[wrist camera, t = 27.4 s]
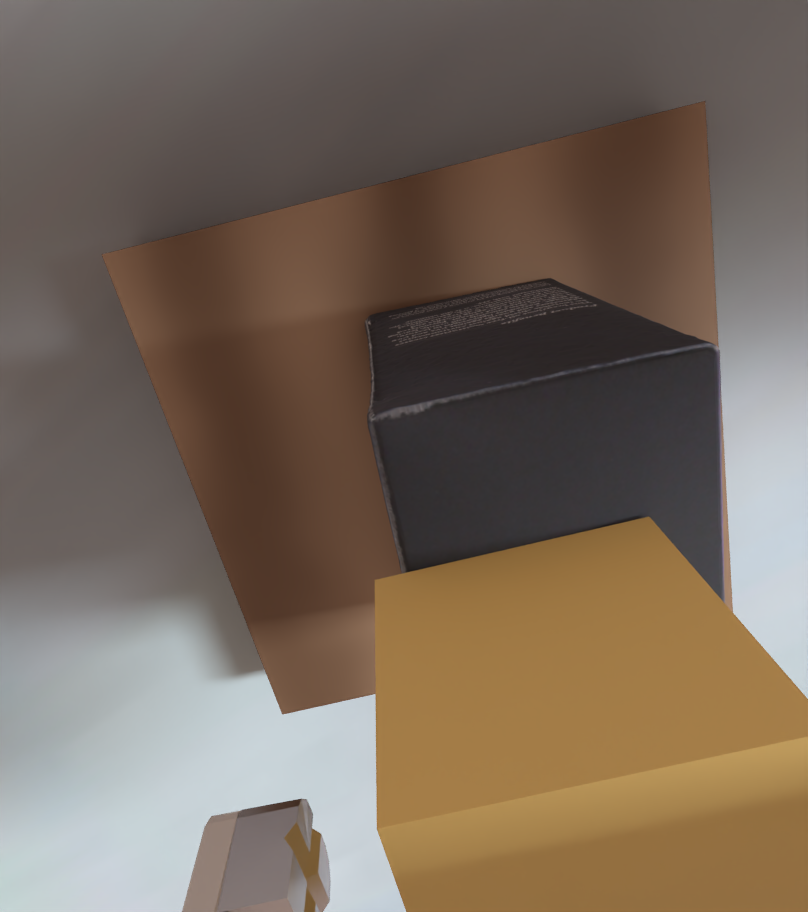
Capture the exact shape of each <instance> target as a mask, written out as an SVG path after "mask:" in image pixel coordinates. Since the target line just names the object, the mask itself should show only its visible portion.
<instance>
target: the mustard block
mask: <svg viewBox="0 0 808 912" xmlns="http://www.w3.org/2000/svg"><path fill="white" fill-rule="evenodd" d="M375 676H376V783H377V830H378V833H379V836H380V839H381V842H382V844H383V847H384V850H385V853H386V856H387V859H388V861H389V864H390V867H391V870H392V873H393V875H394V878H395V881H396V884H397V887H398V889H399V892H400V895H401V898H402V901H403V903H404V906H405V909H406V912H808V699H807V698H806V697H805V695H804V694H803V693H802V692H801V691H800V690H799V689H798V687H797V686H796V685H795V684H794V683H793V682H792V680H791V679H790V678H789V677H788V676H787V675H786V674H785V672H784V671H783V670H782V669H781V668H780V667H779V665H778V664H777V663H776V662H775V661H774V660H773V659H772V657H771V656H770V655H769V654H768V653H767V652H766V650H765V649H764V648H763V647H762V646H761V645H760V644H759V642H758V641H757V640H756V639H755V638H754V637H753V635H752V634H751V633H750V632H749V631H748V630H747V629H746V627H745V626H744V625H743V624H742V623H741V622H740V621H739V619H738V618H737V617H736V616H735V615H734V614H733V612H732V611H731V610H730V609H729V608H728V607H727V606H726V604H725V603H724V602H723V601H722V600H721V599H720V597H719V596H718V595H717V594H716V593H715V592H714V591H713V589H712V588H711V587H710V586H709V585H708V584H707V582H706V581H705V580H704V579H703V578H702V577H701V576H700V574H699V573H698V572H697V571H696V570H695V569H694V567H693V566H692V565H691V564H690V563H689V562H688V561H687V559H686V558H685V557H684V556H683V555H682V554H681V553H680V551H679V550H678V549H677V548H676V547H675V546H674V544H673V543H672V542H671V541H670V540H669V539H668V538H667V536H666V535H665V534H664V533H663V532H662V531H661V529H660V528H659V527H658V526H657V525H656V524H655V523H654V521H653V520H652V519H651V518H650V517H645V518H641V519H636V520H632V521H628V522H623V523H619V524H615V525H610V526H606V527H602V528H597V529H593V530H589V531H584V532H580V533H576V534H571V535H567V536H563V537H558V538H554V539H550V540H545V541H541V542H537V543H532V544H528V545H524V546H520V547H515V548H511V549H507V550H502V551H498V552H494V553H489V554H485V555H481V556H476V557H472V558H468V559H463V560H459V561H455V562H450V563H446V564H442V565H437V566H433V567H429V568H424V569H420V570H416V571H411V572H407V573H403V574H398V575H394V576H390V577H385V578H381V579H377V580H375Z"/></svg>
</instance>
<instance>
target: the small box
mask: <svg viewBox="0 0 808 912" xmlns="http://www.w3.org/2000/svg"><path fill="white" fill-rule="evenodd" d="M365 330H366V334H367V339H368V349H369V361H370V372H371V381H370V382H371V394H370V401H369V403H370V405H369V408H368V414H367V424H368V430H369V433H370V437H371V442H372V446H373V451H374V456H375V460H376V465H377V469H378V473H379V478H380V482H381V486H382V491H383V495H384V500H385V504H386V509H387V513H388V517H389V522H390V526H391V530H392V534H393V538H394V542H395V546H396V550H397V555H398V559H399V564H400V569H401V572H402V574H403V573H407V572H411V571H416V570H420V569H424V568H429V567H433V566H437V565H442V564H446V563H450V562H455V561H459V560H463V559H468V558H472V557H476V556H481V555H485V554H489V553H494V552H498V551H502V550H507V549H511V548H515V547H520V546H524V545H528V544H532V543H537V542H541V541H545V540H550V539H554V538H558V537H563V536H567V535H571V534H576V533H580V532H584V531H589V530H593V529H597V528H602V527H606V526H610V525H615V524H619V523H623V522H628V521H632V520H636V519H641V518H645V517H650V518H651V519H652V520H653V521H654V523H655V524H656V525H657V526H658V527H659V528H660V529H661V531H662V532H663V533H664V534H665V535H666V536H667V538H668V539H669V540H670V541H671V542H672V543H673V544H674V546H675V547H676V548H677V549H678V550H679V551H680V553H681V554H682V555H683V556H684V557H685V558H686V559H687V561H688V562H689V563H690V564H691V565H692V566H693V567H694V569H695V570H696V571H697V572H698V573H699V574H700V576H701V577H702V578H703V579H704V580H705V581H706V582H707V584H708V585H709V586H710V587H711V588H712V589H713V591H714V592H715V593H716V594H717V595H718V596H719V597H720V599H721V600H722V601H723V602H724V603H725V588H724V535H723V492H722V438H721V404H720V402H721V376H720V350H719V349H718V347H717V346H716V345H715V344H713V343H711V342H708V341H705V340H701V339H698V338H697V337H695V336H691V335H687V334H684V333H681V332H679V331H676V330H674V329H672V328H669V327H667V326H665V325H662V324H660V323H657V322H654V321H652V320H649V319H647V318H644V317H643V316H641V315H637V314H635V313H632V312H630V311H627V310H625V309H623V308H620V307H618V306H615V305H612V304H610V303H608V302H606V301H603V300H601V299H598V298H596V297H594V296H591V295H589V294H586V293H584V292H581V291H579V290H577V289H575V288H572V287H570V286H567V285H565V284H562V283H560V282H558V281H556V280H554V279H552V278H547V279H541V280H536V281H531V282H526V283H520V284H516V285H510V286H504V287H500V288H497V289H491V290H486V291H481V292H476V293H472V294H467V295H462V296H457V297H452V298H448V299H443V300H438V301H434V302H429V303H424V304H420V305H414V306H409V307H404V308H400V309H395V310H390V311H386V312H380V313H376V314H373V315H370V316H368V318H367V319H366V320H365Z"/></svg>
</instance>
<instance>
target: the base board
mask: <svg viewBox="0 0 808 912" xmlns="http://www.w3.org/2000/svg"><path fill="white" fill-rule="evenodd" d="M102 257H103V259H104V262H105V264H106V267H107V269H108V272H109V275H110V277H111V280H112V282H113V285H114V287H115V290H116V292H117V295H118V297H119V300H120V302H121V305H122V308H123V310H124V313H125V315H126V318H127V320H128V323H129V325H130V328H131V330H132V333H133V336H134V338H135V341H136V343H137V346H138V348H139V351H140V353H141V356H142V358H143V361H144V364H145V366H146V369H147V371H148V374H149V376H150V379H151V381H152V384H153V386H154V389H155V392H156V394H157V397H158V399H159V402H160V404H161V407H162V409H163V412H164V414H165V417H166V420H167V422H168V425H169V427H170V430H171V432H172V435H173V437H174V440H175V442H176V445H177V447H178V450H179V453H180V455H181V458H182V460H183V463H184V465H185V468H186V470H187V473H188V475H189V478H190V481H191V483H192V486H193V488H194V491H195V493H196V496H197V498H198V501H199V503H200V506H201V509H202V511H203V514H204V516H205V519H206V521H207V524H208V526H209V529H210V531H211V534H212V537H213V539H214V542H215V544H216V547H217V549H218V552H219V554H220V557H221V559H222V562H223V565H224V567H225V570H226V572H227V575H228V577H229V580H230V582H231V585H232V587H233V590H234V592H235V595H236V598H237V600H238V603H239V605H240V608H241V610H242V613H243V615H244V618H245V620H246V623H247V626H248V628H249V631H250V633H251V636H252V638H253V641H254V643H255V646H256V648H257V651H258V654H259V656H260V659H261V661H262V664H263V666H264V669H265V671H266V674H267V676H268V679H269V682H270V684H271V687H272V689H273V692H274V694H275V697H276V699H277V702H278V704H279V707H280V710H281V712H282V714H287V713H291V712H296V711H300V710H305V709H309V708H314V707H318V706H323V705H327V704H332V703H336V702H341V701H345V700H350V699H354V698H359V697H363V696H368V695H373V694H376V676H375V580H377V579H381V578H385V577H390V576H394V575H398V574H402V572H401V569H400V564H399V559H398V555H397V550H396V546H395V542H394V538H393V534H392V530H391V526H390V522H389V517H388V513H387V509H386V504H385V500H384V495H383V491H382V486H381V482H380V478H379V473H378V469H377V465H376V460H375V456H374V451H373V446H372V442H371V437H370V433H369V430H368V424H367V414H368V408H369V405H370V403H369V401H370V394H371V382H370V381H371V372H370V361H369V349H368V339H367V334H366V330H365V320H366V319H367V318H368V316H370V315H373V314H376V313H380V312H386V311H390V310H395V309H400V308H404V307H409V306H414V305H420V304H424V303H429V302H434V301H438V300H443V299H448V298H452V297H457V296H462V295H467V294H472V293H476V292H481V291H486V290H491V289H497V288H500V287H504V286H510V285H516V284H520V283H526V282H531V281H536V280H541V279H547V278H552V279H554V280H556V281H558V282H560V283H562V284H565V285H567V286H570V287H572V288H575V289H577V290H579V291H581V292H584V293H586V294H589V295H591V296H594V297H596V298H598V299H601V300H603V301H606V302H608V303H610V304H612V305H615V306H618V307H620V308H623V309H625V310H627V311H630V312H632V313H635V314H637V315H641V316H643V317H644V318H647V319H649V320H652V321H654V322H657V323H660V324H662V325H665V326H667V327H669V328H672V329H674V330H676V331H679V332H681V333H684V334H687V335H691V336H695V337H697V338H698V339H701V340H705V341H708V342H711V343H713V344H715V345H716V346H717V347H718V329H717V311H716V292H715V274H714V255H713V237H712V218H711V199H710V181H709V162H708V144H707V125H706V107H705V101H703V102H699V103H695V104H691V105H687V106H683V107H679V108H675V109H672V110H668V111H664V112H660V113H656V114H652V115H648V116H644V117H640V118H636V119H632V120H628V121H624V122H620V123H616V124H613V125H609V126H605V127H601V128H597V129H593V130H589V131H585V132H581V133H577V134H573V135H569V136H565V137H561V138H558V139H554V140H550V141H546V142H542V143H538V144H534V145H530V146H526V147H522V148H518V149H514V150H510V151H506V152H503V153H499V154H495V155H491V156H487V157H483V158H479V159H475V160H471V161H467V162H463V163H459V164H455V165H451V166H448V167H444V168H440V169H436V170H432V171H428V172H424V173H420V174H416V175H412V176H408V177H404V178H400V179H396V180H392V181H389V182H385V183H381V184H377V185H373V186H369V187H365V188H361V189H357V190H353V191H349V192H345V193H341V194H337V195H334V196H330V197H326V198H322V199H318V200H314V201H310V202H306V203H302V204H298V205H294V206H290V207H286V208H282V209H279V210H275V211H271V212H267V213H263V214H259V215H255V216H251V217H247V218H243V219H239V220H235V221H231V222H227V223H224V224H220V225H216V226H212V227H208V228H204V229H200V230H196V231H192V232H188V233H184V234H180V235H176V236H172V237H168V238H165V239H161V240H157V241H153V242H149V243H145V244H141V245H137V246H133V247H129V248H125V249H121V250H117V251H113V252H110V253H106V254H102ZM718 349H719V348H718ZM720 404H721V438H722V492H723V535H724V588H725V604H726V606H727V607H728V608H729V609H730V610H731V611H732V612H733V607H732V589H731V570H730V552H729V533H728V515H727V496H726V477H725V459H724V440H723V422H722V403H721V402H720Z"/></svg>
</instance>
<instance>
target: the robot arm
mask: <svg viewBox="0 0 808 912" xmlns="http://www.w3.org/2000/svg"><path fill="white" fill-rule="evenodd" d="M312 820H313V813H312V810H311V808H310V806H309V804H308V802H307V799H298V800H293V801H287V802H282V803H276V804H271V805H266V806H260V807H255V808H249V809H244V810H241V811H236V812H231V813H225V814H220V815H215V816H211V818H210V819H209V821H208V822H207V824H206V826H205V828H204V831H203V835H202V839H201V843H200V846H199V850H198V854H197V858H196V861H195V865H194V869H193V872H192V876H191V880H190V884H189V887H188V891H187V895H186V899H185V902H184V906H183V910H182V912H323V911H324V909H325V907H326V906H327V904H328V903H329V901H330V869H329V859H328V855H327V850H326V846H325V843H324V840H323V838H322V835H321V834H320V833H319V832H317V831H315V830H314V829H312Z"/></svg>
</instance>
